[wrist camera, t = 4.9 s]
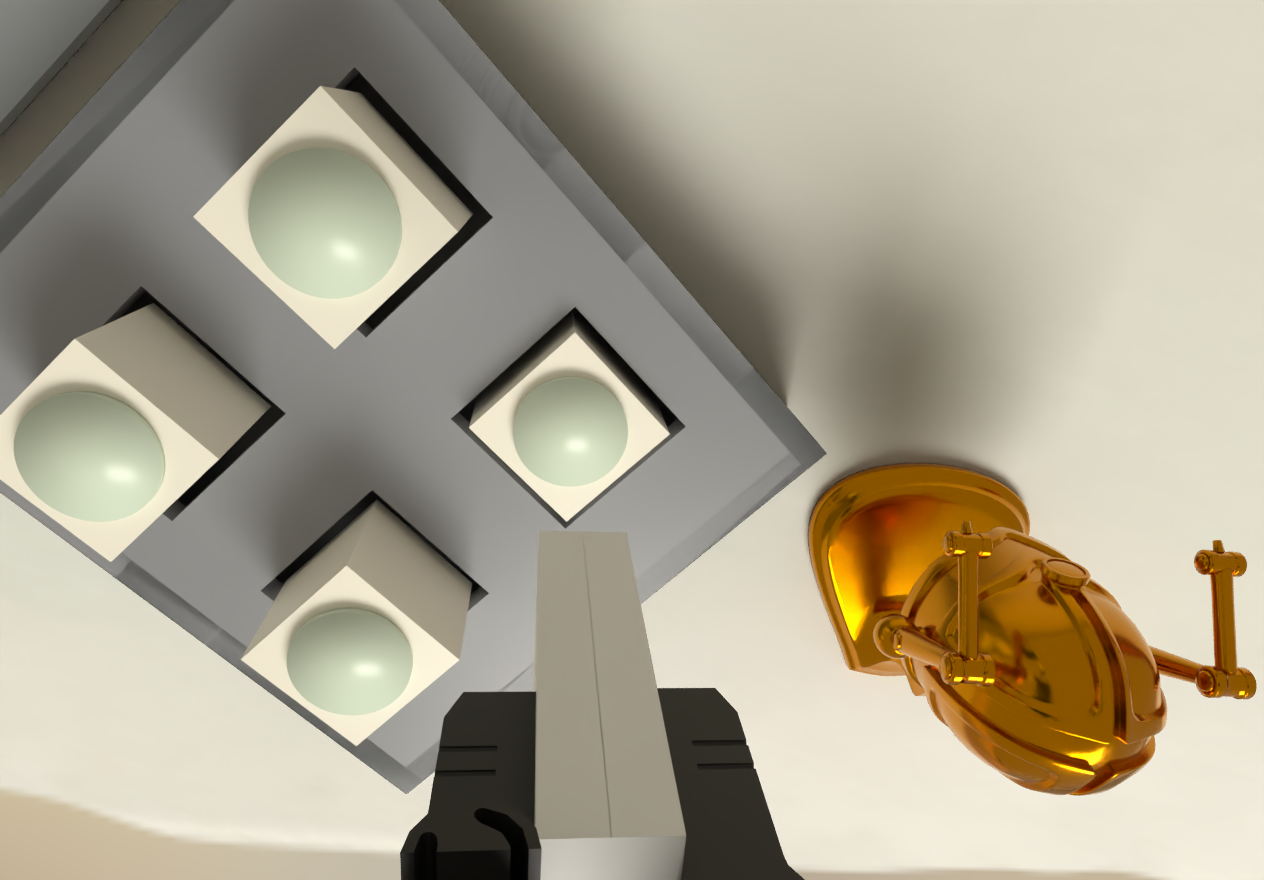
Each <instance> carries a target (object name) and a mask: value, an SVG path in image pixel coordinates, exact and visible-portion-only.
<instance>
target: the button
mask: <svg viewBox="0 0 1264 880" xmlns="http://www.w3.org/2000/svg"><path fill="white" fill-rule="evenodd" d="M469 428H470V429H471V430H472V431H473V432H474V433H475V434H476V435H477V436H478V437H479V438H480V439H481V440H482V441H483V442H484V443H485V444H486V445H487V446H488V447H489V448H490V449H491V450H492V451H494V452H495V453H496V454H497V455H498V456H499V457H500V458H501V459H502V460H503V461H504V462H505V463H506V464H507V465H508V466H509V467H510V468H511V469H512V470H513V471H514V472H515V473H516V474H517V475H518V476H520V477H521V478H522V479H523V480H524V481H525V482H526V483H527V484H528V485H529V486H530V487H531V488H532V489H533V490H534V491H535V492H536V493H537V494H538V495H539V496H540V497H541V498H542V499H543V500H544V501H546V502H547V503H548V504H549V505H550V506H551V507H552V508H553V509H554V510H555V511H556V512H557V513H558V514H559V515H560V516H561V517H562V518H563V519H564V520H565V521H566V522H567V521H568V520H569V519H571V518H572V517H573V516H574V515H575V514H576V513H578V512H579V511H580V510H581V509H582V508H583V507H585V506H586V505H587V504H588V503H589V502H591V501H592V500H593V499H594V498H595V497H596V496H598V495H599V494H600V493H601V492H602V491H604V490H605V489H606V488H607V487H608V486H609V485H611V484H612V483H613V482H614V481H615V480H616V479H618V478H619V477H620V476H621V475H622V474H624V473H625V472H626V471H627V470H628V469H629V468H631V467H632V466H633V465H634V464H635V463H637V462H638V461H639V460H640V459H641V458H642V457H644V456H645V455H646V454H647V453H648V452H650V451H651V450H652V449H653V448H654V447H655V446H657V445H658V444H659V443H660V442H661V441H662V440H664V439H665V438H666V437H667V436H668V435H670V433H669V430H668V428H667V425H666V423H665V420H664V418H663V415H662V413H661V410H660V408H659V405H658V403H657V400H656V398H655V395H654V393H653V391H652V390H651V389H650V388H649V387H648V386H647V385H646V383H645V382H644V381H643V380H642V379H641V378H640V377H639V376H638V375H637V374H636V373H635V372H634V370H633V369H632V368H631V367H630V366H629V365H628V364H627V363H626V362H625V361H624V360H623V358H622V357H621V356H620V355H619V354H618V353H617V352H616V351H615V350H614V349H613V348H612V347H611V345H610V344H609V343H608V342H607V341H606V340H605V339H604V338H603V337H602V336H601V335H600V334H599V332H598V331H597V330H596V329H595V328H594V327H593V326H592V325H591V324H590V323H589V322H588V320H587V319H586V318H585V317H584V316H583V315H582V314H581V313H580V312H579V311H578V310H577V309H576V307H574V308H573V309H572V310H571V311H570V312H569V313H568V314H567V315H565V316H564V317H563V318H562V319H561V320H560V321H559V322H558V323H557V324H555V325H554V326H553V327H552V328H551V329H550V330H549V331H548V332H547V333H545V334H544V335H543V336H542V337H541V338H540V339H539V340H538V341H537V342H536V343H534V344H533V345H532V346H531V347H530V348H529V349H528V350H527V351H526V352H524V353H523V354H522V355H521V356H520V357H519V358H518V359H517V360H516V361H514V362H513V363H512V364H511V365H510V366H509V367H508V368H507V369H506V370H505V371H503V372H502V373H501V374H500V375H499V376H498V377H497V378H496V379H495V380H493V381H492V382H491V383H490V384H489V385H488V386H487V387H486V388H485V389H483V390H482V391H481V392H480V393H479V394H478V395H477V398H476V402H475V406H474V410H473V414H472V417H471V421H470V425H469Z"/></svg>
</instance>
